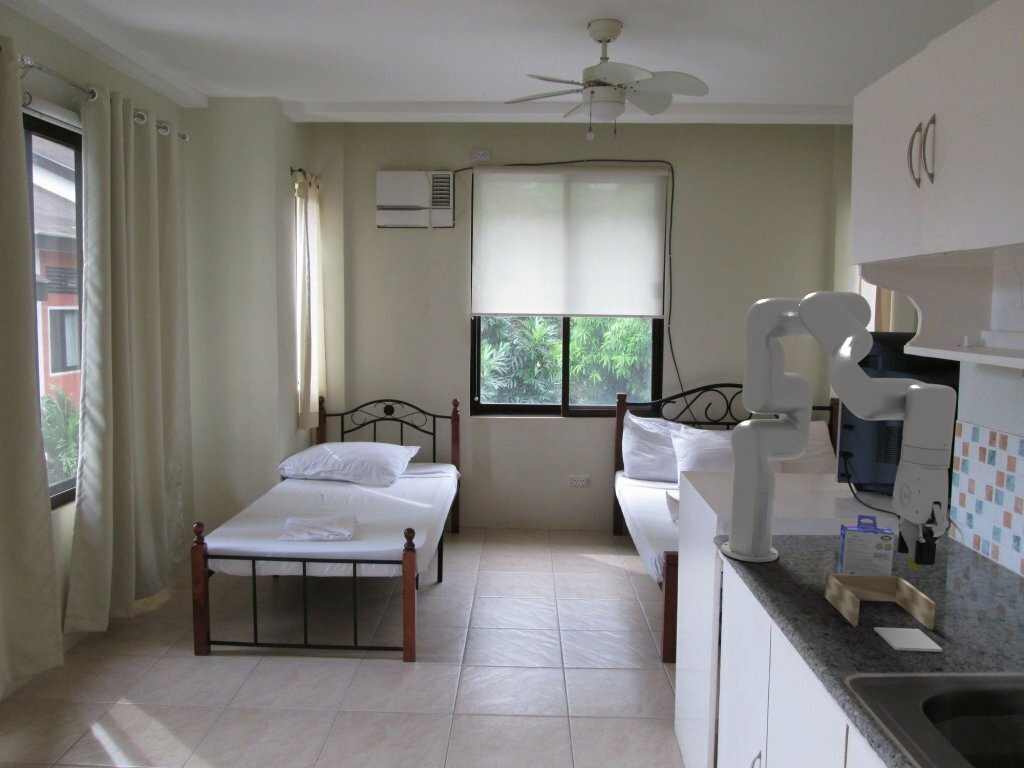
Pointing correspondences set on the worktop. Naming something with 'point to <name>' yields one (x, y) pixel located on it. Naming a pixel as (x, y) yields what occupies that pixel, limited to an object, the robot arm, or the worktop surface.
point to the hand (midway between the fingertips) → (915, 557)
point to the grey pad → (907, 639)
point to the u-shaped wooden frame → (876, 595)
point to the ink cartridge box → (866, 548)
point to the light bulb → (912, 540)
